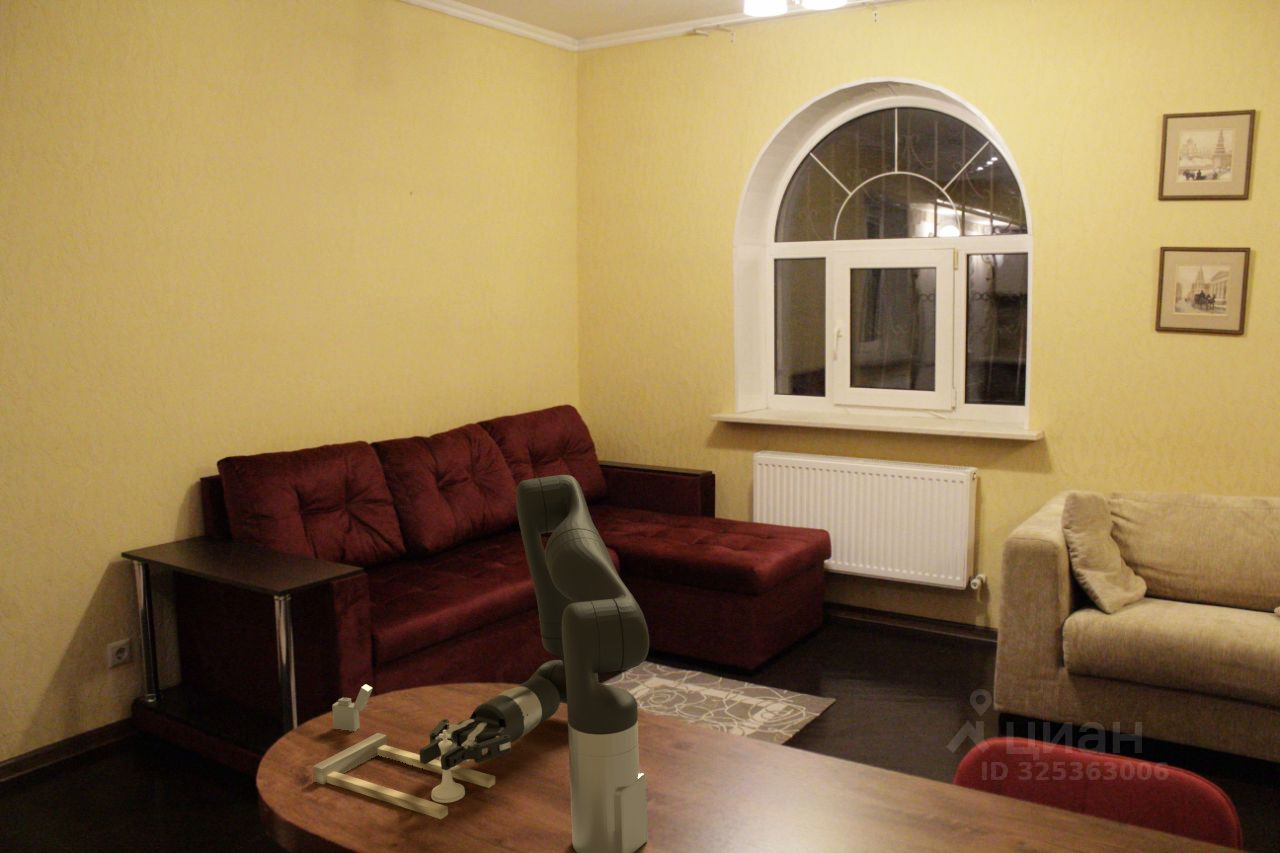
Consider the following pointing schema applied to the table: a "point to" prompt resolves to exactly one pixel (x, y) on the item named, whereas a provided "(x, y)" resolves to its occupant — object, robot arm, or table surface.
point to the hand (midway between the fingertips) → (432, 760)
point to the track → (363, 752)
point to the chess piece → (447, 778)
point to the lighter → (350, 710)
